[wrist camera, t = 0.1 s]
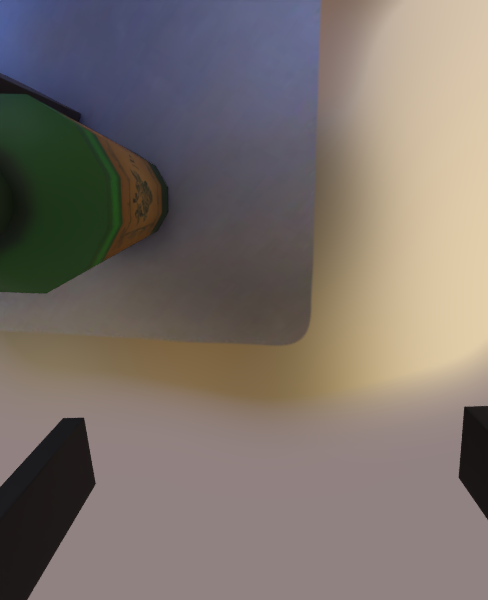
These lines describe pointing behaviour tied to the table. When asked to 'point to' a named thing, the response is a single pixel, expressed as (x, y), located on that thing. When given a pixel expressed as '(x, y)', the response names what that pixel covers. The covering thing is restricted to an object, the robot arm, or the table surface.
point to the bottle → (67, 197)
